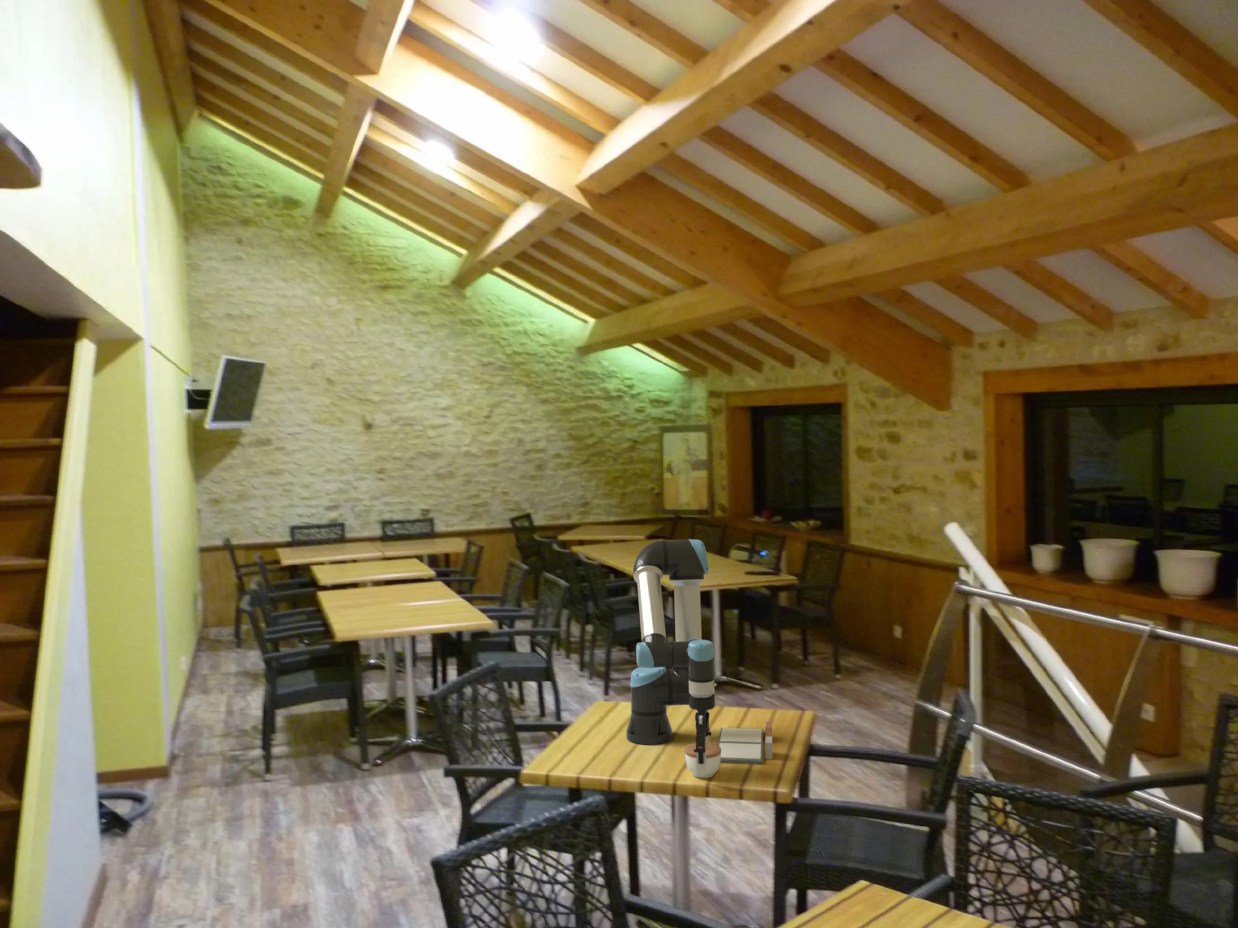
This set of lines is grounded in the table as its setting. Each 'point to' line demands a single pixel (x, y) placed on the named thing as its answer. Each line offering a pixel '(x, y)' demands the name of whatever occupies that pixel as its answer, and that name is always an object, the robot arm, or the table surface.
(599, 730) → the table surface
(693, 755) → the lidded jar
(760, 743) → the board
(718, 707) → the table surface
